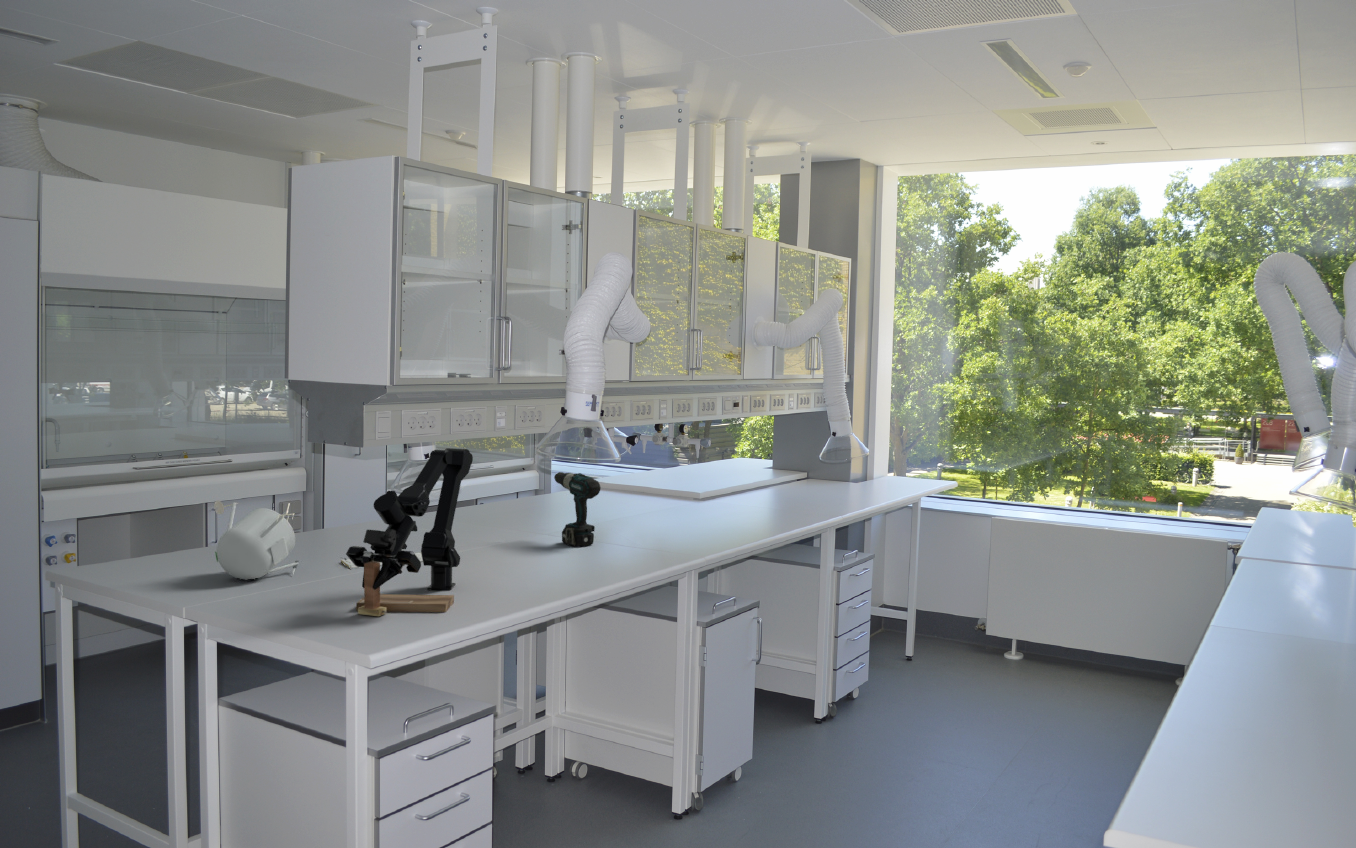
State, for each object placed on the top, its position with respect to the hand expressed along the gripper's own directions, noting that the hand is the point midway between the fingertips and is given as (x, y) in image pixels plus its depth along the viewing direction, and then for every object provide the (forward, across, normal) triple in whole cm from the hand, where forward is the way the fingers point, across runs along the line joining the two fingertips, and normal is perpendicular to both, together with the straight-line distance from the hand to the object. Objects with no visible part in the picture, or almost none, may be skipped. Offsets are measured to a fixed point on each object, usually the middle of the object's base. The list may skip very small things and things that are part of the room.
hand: (368, 588), depth 232 cm
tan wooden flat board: (-3, +3, +13) cm, 13 cm away
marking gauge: (+4, 0, +6) cm, 7 cm away
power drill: (-72, +3, +83) cm, 109 cm away
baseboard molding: (-35, -34, +47) cm, 68 cm away
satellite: (-11, -55, +22) cm, 61 cm away
